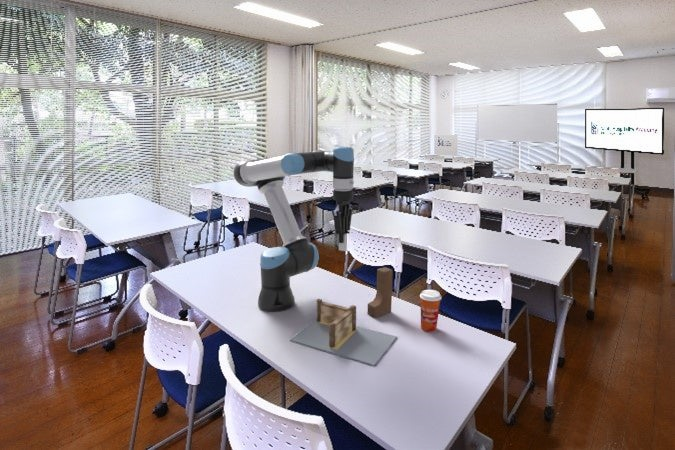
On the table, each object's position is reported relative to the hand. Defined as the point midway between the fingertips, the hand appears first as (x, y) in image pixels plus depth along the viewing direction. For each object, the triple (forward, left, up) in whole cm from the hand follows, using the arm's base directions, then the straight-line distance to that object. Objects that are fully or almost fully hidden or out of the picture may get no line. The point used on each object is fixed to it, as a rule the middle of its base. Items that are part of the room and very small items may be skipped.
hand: (342, 250), depth 159 cm
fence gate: (+9, -19, -25) cm, 33 cm away
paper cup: (+34, +4, -27) cm, 43 cm away
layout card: (+10, -18, -26) cm, 33 cm away
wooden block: (+13, +7, -27) cm, 30 cm away
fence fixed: (+3, -11, -26) cm, 28 cm away
